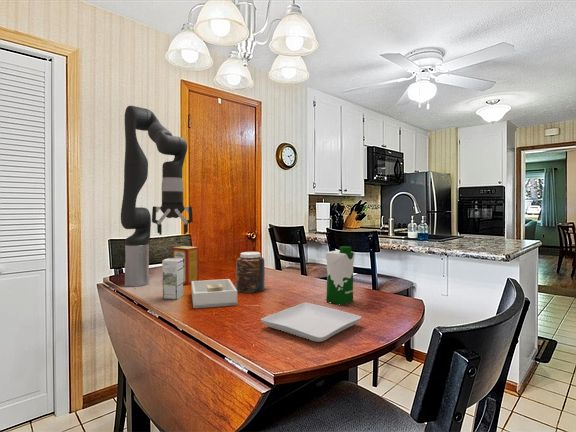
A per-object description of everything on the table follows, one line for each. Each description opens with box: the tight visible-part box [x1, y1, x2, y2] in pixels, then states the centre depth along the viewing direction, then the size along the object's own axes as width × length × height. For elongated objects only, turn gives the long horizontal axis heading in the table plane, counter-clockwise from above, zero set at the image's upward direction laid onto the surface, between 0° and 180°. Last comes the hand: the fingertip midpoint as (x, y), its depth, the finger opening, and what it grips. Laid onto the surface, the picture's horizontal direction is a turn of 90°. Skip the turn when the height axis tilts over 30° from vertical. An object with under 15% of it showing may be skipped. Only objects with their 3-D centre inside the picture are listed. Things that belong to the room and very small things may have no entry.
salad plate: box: [260, 301, 362, 343], centre depth 98 cm, size 21×21×3 cm
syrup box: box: [161, 257, 184, 300], centre depth 128 cm, size 6×6×14 cm
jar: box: [235, 251, 266, 294], centre depth 141 cm, size 12×12×15 cm
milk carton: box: [325, 245, 356, 306], centre depth 124 cm, size 9×9×20 cm
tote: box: [190, 278, 238, 309], centre depth 127 cm, size 15×20×5 cm
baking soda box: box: [172, 245, 200, 286], centre depth 154 cm, size 10×6×16 cm
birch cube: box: [207, 284, 223, 292], centre depth 122 cm, size 5×5×5 cm
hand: (172, 234), depth 128 cm, fingers open, 8 cm apart
